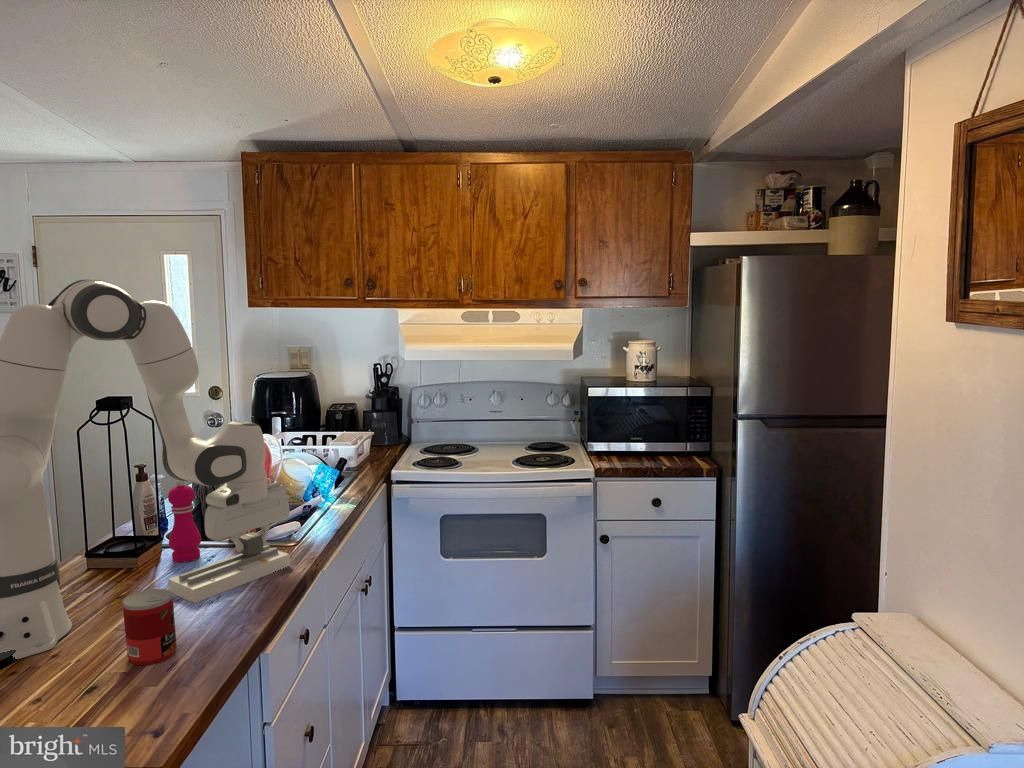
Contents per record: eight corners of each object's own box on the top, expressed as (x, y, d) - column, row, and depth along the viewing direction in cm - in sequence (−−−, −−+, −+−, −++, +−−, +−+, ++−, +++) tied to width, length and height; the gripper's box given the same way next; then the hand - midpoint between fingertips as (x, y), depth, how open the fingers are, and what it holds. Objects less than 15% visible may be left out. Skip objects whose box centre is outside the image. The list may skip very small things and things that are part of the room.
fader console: (194, 603, 146) (192, 584, 146) (169, 591, 152) (167, 573, 151) (289, 566, 165) (288, 549, 165) (264, 557, 171) (263, 541, 171)
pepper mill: (208, 552, 175) (202, 475, 172) (192, 564, 168) (186, 483, 165) (180, 552, 176) (174, 475, 173) (163, 563, 168) (157, 483, 166)
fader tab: (248, 562, 160) (247, 539, 159) (239, 559, 162) (238, 536, 161) (263, 557, 163) (262, 534, 162) (254, 553, 165) (253, 531, 165)
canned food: (173, 662, 123) (168, 603, 121) (122, 669, 120) (117, 609, 119) (180, 641, 130) (175, 585, 128) (133, 648, 128) (128, 591, 126)
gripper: (277, 477, 171) (280, 531, 172) (198, 498, 154) (203, 558, 156) (293, 481, 167) (296, 536, 169) (214, 503, 150) (219, 564, 152)
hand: (251, 547), depth 162 cm, fingers closed on fader tab, 4 cm apart
